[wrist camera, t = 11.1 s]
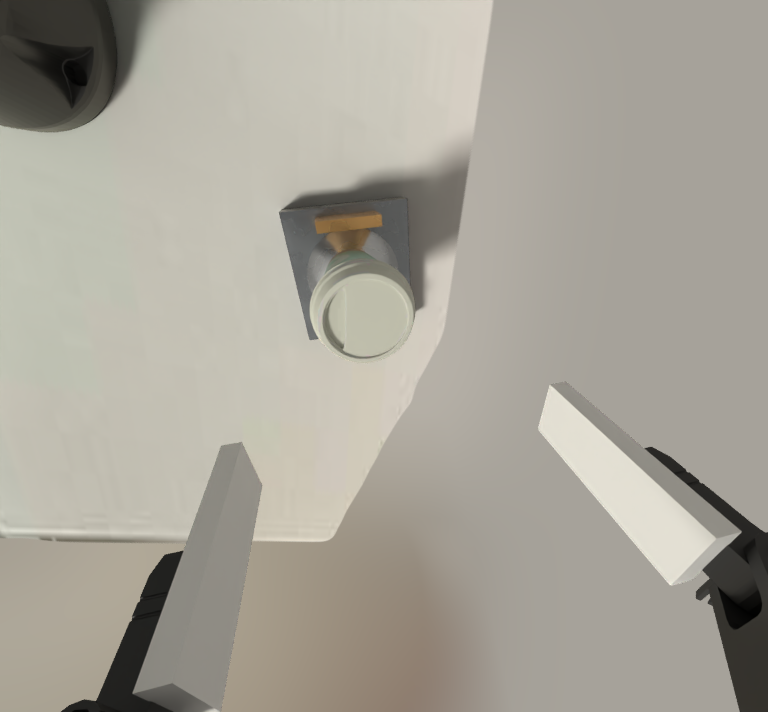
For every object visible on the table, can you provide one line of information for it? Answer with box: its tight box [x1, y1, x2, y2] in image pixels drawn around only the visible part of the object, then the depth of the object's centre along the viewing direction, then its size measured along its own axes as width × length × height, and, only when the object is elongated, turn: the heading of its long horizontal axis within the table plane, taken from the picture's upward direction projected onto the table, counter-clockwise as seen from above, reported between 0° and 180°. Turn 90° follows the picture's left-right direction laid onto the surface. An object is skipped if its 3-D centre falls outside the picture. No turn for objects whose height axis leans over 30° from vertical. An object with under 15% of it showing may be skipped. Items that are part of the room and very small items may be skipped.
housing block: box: [279, 197, 410, 340], centre depth 33 cm, size 14×13×6 cm
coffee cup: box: [310, 249, 415, 363], centre depth 28 cm, size 9×9×12 cm
